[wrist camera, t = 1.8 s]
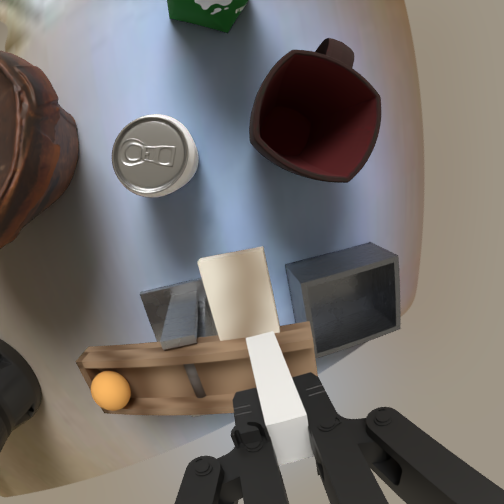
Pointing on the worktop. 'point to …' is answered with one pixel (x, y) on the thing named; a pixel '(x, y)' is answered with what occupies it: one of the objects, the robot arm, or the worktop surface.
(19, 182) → the case
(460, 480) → the robot arm
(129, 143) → the can
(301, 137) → the cup
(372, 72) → the worktop surface
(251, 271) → the lever
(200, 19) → the milk carton
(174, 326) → the stand
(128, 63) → the worktop surface
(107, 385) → the ball
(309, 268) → the tin
